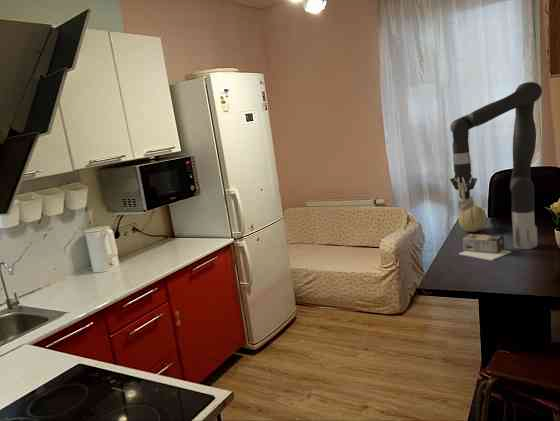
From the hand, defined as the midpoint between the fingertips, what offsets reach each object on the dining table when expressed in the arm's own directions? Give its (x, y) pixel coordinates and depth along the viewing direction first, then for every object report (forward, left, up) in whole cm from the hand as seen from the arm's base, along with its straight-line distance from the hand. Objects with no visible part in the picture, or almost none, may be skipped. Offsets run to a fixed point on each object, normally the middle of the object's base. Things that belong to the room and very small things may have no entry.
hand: (464, 198), depth 216 cm
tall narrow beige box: (0, -1, -5) cm, 5 cm away
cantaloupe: (+19, -30, -26) cm, 44 cm away
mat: (-9, 0, -26) cm, 27 cm away
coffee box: (+2, -1, -22) cm, 22 cm away
